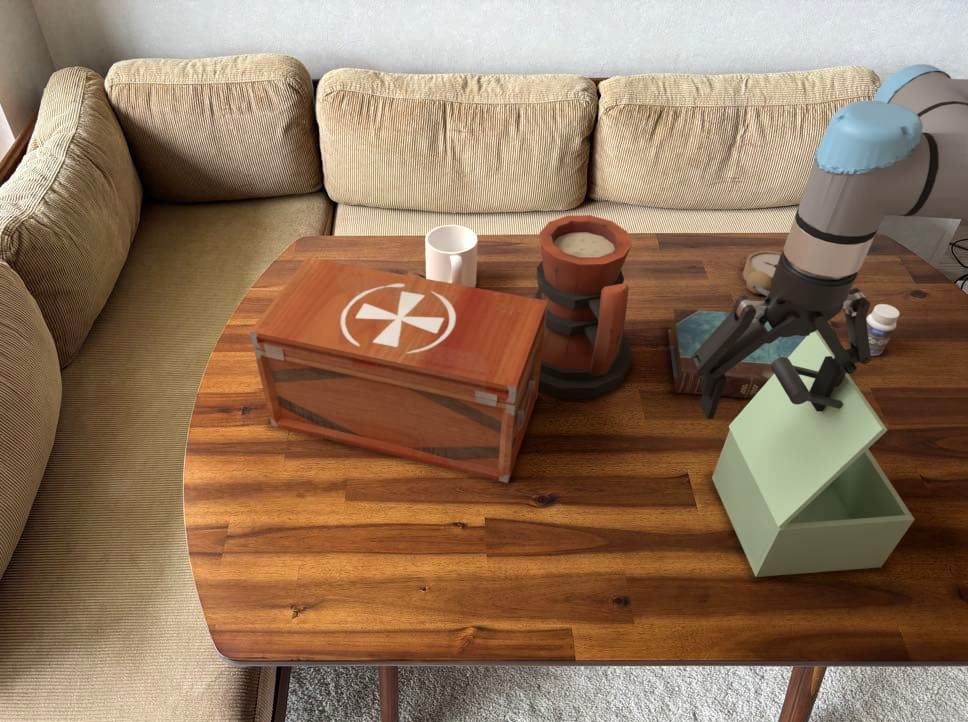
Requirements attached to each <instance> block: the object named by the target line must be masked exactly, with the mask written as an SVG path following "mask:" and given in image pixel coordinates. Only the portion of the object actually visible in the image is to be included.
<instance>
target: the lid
mask: <svg viewBox="0 0 968 722" xmlns="http://www.w3.org/2000/svg"><path fill="white" fill-rule="evenodd" d="M825 356H832V357H833V359H834V358H835V356H834V354H833V353H832V351H831V350H830V348H829V347H828V345H827V344H826V342H825V341H824V339H823V338H822V336H821V335H820V333H819V332H818V330H816V331H815V332H813V333H810V335H809V336H806V338H805V339H804V340H803V341H802V342H801V343H800V344H799V346H798V347H797V348H796V349H795V350H794V351H793V353H792V354H791V355H790V356H789V357H788V358H786V357H780V358H777V359H776V360H774V361H773V362H772V364H771V369H772V370H773V372H774V374H773V376H772V377H771V378H770V379H769V380H768V381H767V383H766V384H765V385H764V386H763V387H762V388H761V390H760V391H759V392H758V393H757V394H756V395H755V396H754V398H753V399H750V401H749V402H748V403H747V405H746V406H745V407H744V408H743V409H742V410H741V411H740V413H738V414H737V416H736V417H735V418H734V419H733V421H732V422H731V423H730V424H729V425H728V428H729V431H730V430H731V433H732V435H733V437H734V439H735V441H736V443H737V445H738V447H739V449H740V451H741V453H742V455H743V457H744V459H745V461H746V463H747V465H748V467H749V469H750V471H751V473H752V475H753V477H754V479H755V481H756V483H757V485H758V487H759V489H760V491H761V493H762V495H763V497H764V499H765V501H766V503H767V505H768V507H769V509H770V511H771V513H772V515H773V517H774V519H775V521H776V523H777V526H778V527H781V528H784V527H785V526H786V525H787V524H788V523H789V522H790V521H791V520H792V519H793V518H794V517H795V516H796V515H798V514H799V513H800V512H801V511H802V510H803V509H804V508H805V507H806V506H807V505H808V504H809V503H810V502H811V501H812V500H814V499H815V498H816V497H817V496H818V495H819V494H820V493H821V492H822V491H823V490H824V489H825V488H826V487H827V486H829V485H830V484H831V483H832V482H833V481H834V480H835V479H836V478H837V477H838V476H839V475H840V474H841V473H842V472H843V471H845V470H846V469H847V468H848V467H849V466H850V465H851V464H852V463H853V462H854V461H855V460H856V459H857V458H858V457H859V456H861V455H862V454H863V453H864V452H865V451H866V450H867V449H869V448H871V446H872V445H874V444H875V443H876V442H877V441H878V440H879V439H880V438H881V437H883V435H885V434H886V432H887V431H888V428H887V427H886V426H885V424H884V423H883V421H882V420H881V419H880V417H879V416H878V414H877V413H876V412H875V410H874V408H873V407H872V406H871V405H870V403H869V402H868V400H867V399H866V397H865V396H864V394H863V393H862V391H861V390H860V389H859V387H858V386H857V384H856V383H855V382H854V380H853V378H852V377H851V376H850V374H847V373H846V374H845V376H844V378H843V380H842V383H841V384H840V385H839V386H838V387H834V389H833V391H832V393H831V395H830V397H829V398H827V397H823V396H819V395H815V394H810V392H809V391H810V389H811V387H812V385H813V382H814V380H815V378H816V376H817V374H818V371H819V369H820V367H821V365H822V363H823V360H824V358H825ZM811 402H813V403H818V404H822V405H826V406H825V408H824V410H823V411H819V412H817V411H816V410H815V408H814V406H813V405H812V403H811Z"/></svg>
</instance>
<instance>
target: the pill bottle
mask: <svg viewBox="0 0 968 722" xmlns="http://www.w3.org/2000/svg"><path fill="white" fill-rule="evenodd" d="M899 317H900V311H899V310H898V309H897V308H896V307H894V306H892V305H890V304H886V303H879V304H875V306H874V307H873V310H872V312H871V313H870V314H867V316H866V322H867V330H868V338H869V346H870V353H871V357H872V356H874V357H875V356H880V355H881V354H882V353H884V350H885V348H886V346H887V344H888V342H889V341H890V338H891V337H892V335H893V333H894V331H895V330H896V328H897V321H898V319H899Z"/></svg>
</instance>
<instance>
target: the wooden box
mask: <svg viewBox="0 0 968 722" xmlns="http://www.w3.org/2000/svg"><path fill="white" fill-rule="evenodd" d="M547 304H548V301H546V300H540V299H535V298H534V297H529V296H523V295H517V294H512V293H508V292H507V293H506V292H501V291H496V290H489V289H485V288H480V287H475V288H474V287H468V286H463V285H457V284H452V283H446V282H441V281H435V280H430V279H426V278H424V277H418V276H413V275H408V274H403V273H402V274H401V273H398V272H397V273H396V272H390V271H385V270H379V269H374V268H370V267H369V268H368V267H363V266H358V265H352V264H346V263H341V262H337V261H336V262H335V261H329V260H325V259H319V258H314V257H308V256H307V257H306V258H305V260H304V261H303V263H302V264H301V265H300V266H299V267H298V269H297V270H296V271H295V273H294V274H293V275H292V276H291V278H290V279H289V280H288V281H287V283H286V284H285V285H284V286H283V288H282V289H281V290H280V292H279V293H278V295H276V297H275V298H274V300H273V301H272V302H271V303H270V305H269V306H268V307H267V308H266V310H265V311H264V313H262V315H261V316H260V317H259V319H258V320H257V321H256V323H255V324H254V325H253V326H252V328H251V329H250V330H249V334H250V338H251V344H252V347H253V348H254V349H253V352H254V356H255V360H256V364H257V369H258V373H259V378H260V381H261V385H262V391H263V393H264V394H263V395H264V398H265V403H266V407H267V411H268V416H269V420H270V425H271V427H275V428H280V429H284V430H287V431H291V432H296V433H300V434H304V435H308V436H312V437H317V438H321V439H323V440H324V439H325V440H328V441H329V440H330V441H333V442H337V443H342V444H345V445H348V446H349V445H350V446H355V447H358V448H362V449H367V450H371V451H374V452H378V453H383V454H387V455H390V456H395V457H400V458H403V459H408V460H411V461H415V462H420V463H423V464H429V465H431V466H432V465H433V466H436V467H441V468H445V469H449V470H453V471H457V472H461V473H466V474H469V475H473V476H477V477H481V478H482V477H483V478H486V479H490V480H494V481H497V482H498V481H499V482H503V483H506V484H508V483H509V481H510V478H511V476H512V473H513V470H514V466H515V464H516V460H517V457H518V455H519V452H520V448H521V447H522V443H523V440H524V437H525V434H526V431H527V427H528V425H529V421H530V419H531V416H532V412H533V411H534V407H535V405H536V402H537V401H536V400H537V398H538V393H539V392H538V385H539V376H540V367H541V358H542V349H543V340H544V331H545V324H546V319H545V318H546V313H547Z"/></svg>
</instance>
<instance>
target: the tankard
mask: <svg viewBox="0 0 968 722" xmlns="http://www.w3.org/2000/svg"><path fill="white" fill-rule="evenodd" d="M539 241H540V251H541V252H540V253H541V262H540V263H539V264H538V265H537V267H536V281H537V286H538V287H537V288H538V290H537V291H536V293H535V294H534V297H533V298H535V299H540V300H546V301H548V304H547V313H546V318H545V319H546V324H545V331H544V340H543V349H542V358H541V367H540V376H539V385H538V393H541V394H544V395H546V396H550V397H552V398H555V399H558V400H583V399H585V400H588V399H590V400H591V399H595V398H597V397H600V396H601V395H603V394H606V393H608V392H611V391H612V390H615V389H617V388H619V387H620V385H622V382H623V381H624V379H625V378H626V376H627V374H628V372H629V370H630V368H631V366H632V361H633V352H632V349H631V346H630V343H629V342H630V341H629V339H628V335H627V334H626V333H625V332H624V329H625V324H626V317H627V310H628V309H627V308H628V298H629V288H630V286H628V285H627V284H626V283H624V281H625V277H624V274H623V271H622V269H623V267H624V264H625V262H626V259H627V258H628V255H629V252H630V250H631V247H632V242H631V239H630V236H629V234H628V230H625V229H624V228H623V227H621V226H620V225H618V224H617V223H615V222H614V221H613V220H609V219H606V218H602V217H598V216H594V215H591V214H590V215H589V214H587V215H586V214H585V215H582V214H581V215H580V214H579V215H566V216H562V217H560V218H559V217H558V218H556V219H553V220H551V221H548V223H547V224H546V225H545V226H544V227H543V228H542V229H541V231H540V232H539Z"/></svg>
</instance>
